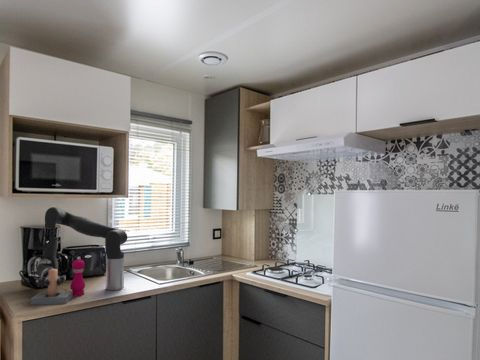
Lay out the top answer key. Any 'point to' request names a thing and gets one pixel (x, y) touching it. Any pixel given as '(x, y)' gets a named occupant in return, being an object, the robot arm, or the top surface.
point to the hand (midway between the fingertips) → (53, 283)
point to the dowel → (52, 282)
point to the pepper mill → (78, 278)
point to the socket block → (51, 298)
